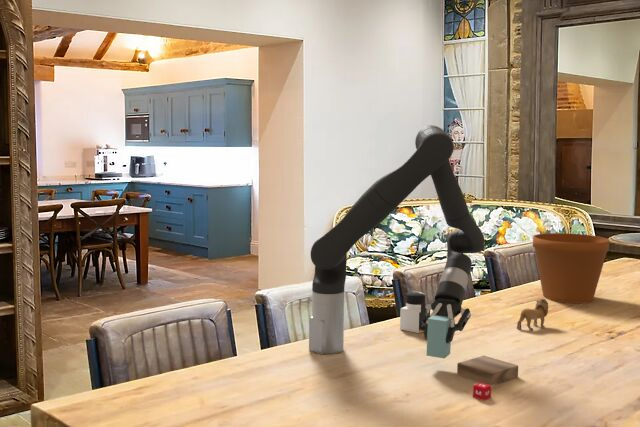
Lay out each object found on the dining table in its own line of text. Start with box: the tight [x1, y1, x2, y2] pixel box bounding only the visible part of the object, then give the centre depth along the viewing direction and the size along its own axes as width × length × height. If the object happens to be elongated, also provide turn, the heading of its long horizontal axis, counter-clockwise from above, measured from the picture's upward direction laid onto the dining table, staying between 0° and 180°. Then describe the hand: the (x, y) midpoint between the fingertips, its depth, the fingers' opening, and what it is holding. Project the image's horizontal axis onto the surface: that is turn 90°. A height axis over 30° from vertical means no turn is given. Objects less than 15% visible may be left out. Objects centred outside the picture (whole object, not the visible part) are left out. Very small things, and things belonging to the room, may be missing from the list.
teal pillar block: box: [426, 315, 452, 359], centre depth 194 cm, size 5×5×10 cm
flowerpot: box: [532, 232, 610, 304], centre depth 284 cm, size 28×28×24 cm
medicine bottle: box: [399, 291, 431, 334], centre depth 234 cm, size 7×7×12 cm
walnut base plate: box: [456, 355, 519, 387], centre depth 190 cm, size 11×11×3 cm
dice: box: [472, 382, 492, 401], centre depth 174 cm, size 3×3×3 cm
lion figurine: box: [516, 297, 549, 331], centre depth 238 cm, size 15×5×9 cm, turn 132°
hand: (436, 340), depth 193 cm, fingers closed on teal pillar block, 5 cm apart
